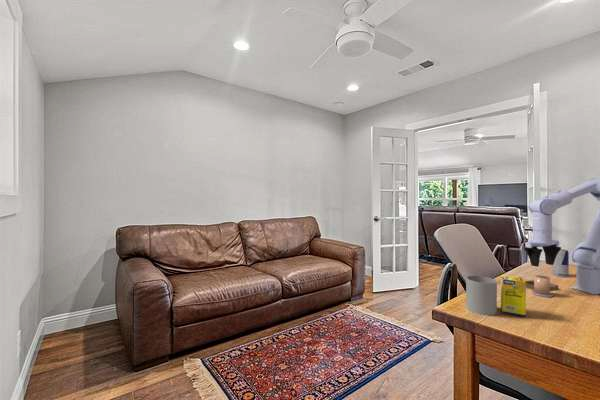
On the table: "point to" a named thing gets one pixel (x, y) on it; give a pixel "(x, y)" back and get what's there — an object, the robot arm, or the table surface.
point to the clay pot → (542, 285)
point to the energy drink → (561, 264)
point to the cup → (481, 295)
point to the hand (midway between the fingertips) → (542, 265)
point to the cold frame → (531, 285)
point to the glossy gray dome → (543, 295)
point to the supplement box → (513, 295)
